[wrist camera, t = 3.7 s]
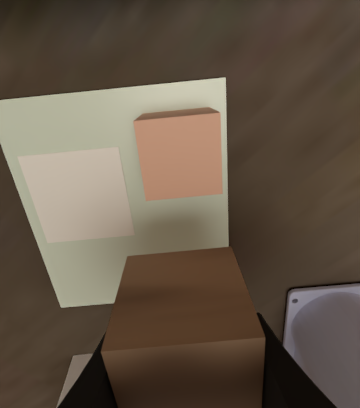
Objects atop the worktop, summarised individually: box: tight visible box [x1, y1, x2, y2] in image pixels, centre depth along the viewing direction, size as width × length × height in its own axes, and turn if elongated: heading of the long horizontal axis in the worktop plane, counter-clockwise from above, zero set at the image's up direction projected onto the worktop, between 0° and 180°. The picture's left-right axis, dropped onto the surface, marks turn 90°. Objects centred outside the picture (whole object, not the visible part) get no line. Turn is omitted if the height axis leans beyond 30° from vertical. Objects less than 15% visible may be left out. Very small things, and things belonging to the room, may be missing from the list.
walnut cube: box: [101, 247, 265, 408], centre depth 11 cm, size 5×5×5 cm
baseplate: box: [0, 77, 229, 308], centre depth 18 cm, size 16×14×1 cm
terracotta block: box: [133, 107, 223, 201], centre depth 14 cm, size 4×4×4 cm
